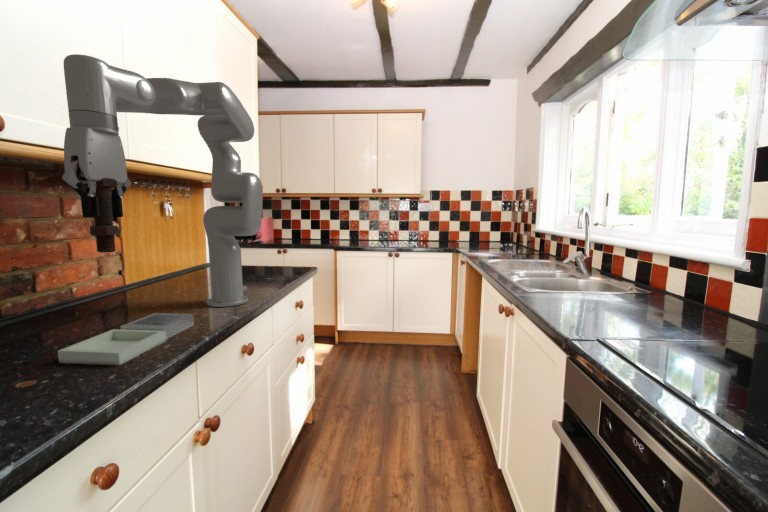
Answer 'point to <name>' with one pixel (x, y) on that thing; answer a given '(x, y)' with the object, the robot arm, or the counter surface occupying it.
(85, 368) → the counter surface
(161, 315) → the grey notched slab
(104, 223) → the bolt
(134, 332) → the tray
